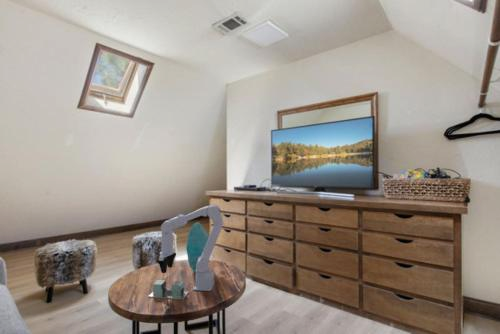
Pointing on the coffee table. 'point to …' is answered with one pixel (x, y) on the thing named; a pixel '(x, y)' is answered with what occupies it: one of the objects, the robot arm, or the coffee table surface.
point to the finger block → (159, 287)
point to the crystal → (196, 244)
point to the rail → (173, 291)
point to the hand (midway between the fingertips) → (166, 270)
